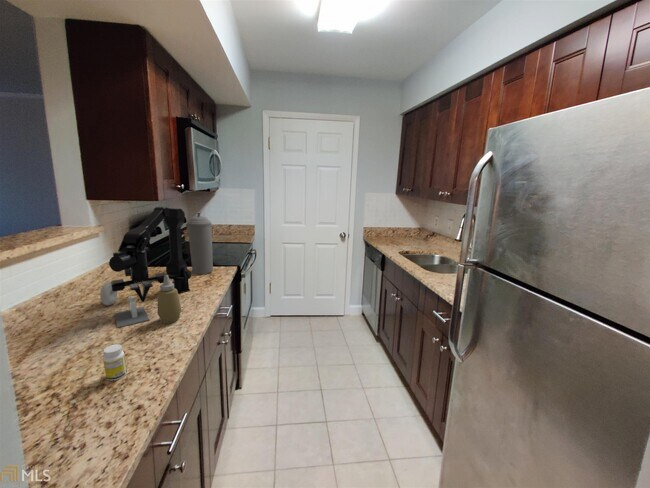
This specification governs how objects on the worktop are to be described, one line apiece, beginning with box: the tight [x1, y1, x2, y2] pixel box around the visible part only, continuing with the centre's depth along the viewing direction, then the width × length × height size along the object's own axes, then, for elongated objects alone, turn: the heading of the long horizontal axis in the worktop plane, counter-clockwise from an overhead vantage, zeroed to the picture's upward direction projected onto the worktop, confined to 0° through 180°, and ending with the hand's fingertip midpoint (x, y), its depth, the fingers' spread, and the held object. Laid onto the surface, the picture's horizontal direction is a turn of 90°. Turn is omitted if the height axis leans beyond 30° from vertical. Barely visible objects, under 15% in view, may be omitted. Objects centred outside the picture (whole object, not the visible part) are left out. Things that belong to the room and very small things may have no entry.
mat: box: [113, 306, 150, 329], centre depth 114 cm, size 10×14×1 cm
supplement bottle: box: [102, 343, 128, 382], centre depth 79 cm, size 5×5×8 cm
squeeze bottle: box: [157, 274, 182, 324], centre depth 110 cm, size 8×8×18 cm
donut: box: [99, 281, 118, 306], centre depth 124 cm, size 10×3×10 cm, turn 14°
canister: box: [186, 211, 214, 276], centre depth 166 cm, size 13×13×35 cm
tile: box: [127, 295, 138, 318], centre depth 115 cm, size 8×2×6 cm, turn 39°
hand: (142, 301), depth 117 cm, fingers closed
